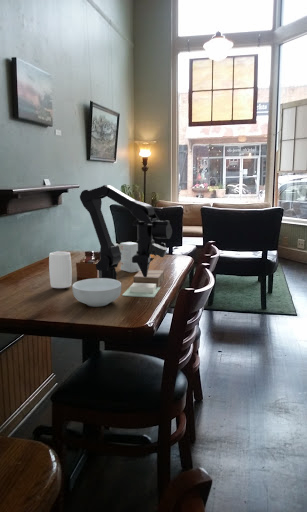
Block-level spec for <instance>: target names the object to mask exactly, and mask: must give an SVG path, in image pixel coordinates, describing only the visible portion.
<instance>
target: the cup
mask: <svg viewBox="0 0 307 512" xmlns="http://www.w3.org/2000/svg"><path fill="white" fill-rule="evenodd" d="M48 257H49V258H48V268H49V270H48V271H49V272H48V273H49V282H50V287H51V288H54V289H65V288H69V287H72V280H73V279H72V278H73V277H72V276H73V275H72V274H73V273H72V271H73V270H72V257H71V252H69V251H62V250H61V251H60V250H59V251H52V252H49V254H48Z"/></svg>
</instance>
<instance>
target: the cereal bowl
mask: <svg viewBox="0 0 307 512" xmlns="http://www.w3.org/2000/svg"><path fill="white" fill-rule="evenodd" d="M71 287H72V288H71V290H72V294H73V297H74V298H75V299H76V300H77V301H78V302H80V303H83V304H84V305H85V304H86V305H87V306H88V307H93V308H94V307H104V306H105V307H106V306H107V305H109V304H110V303H113V302H115V301H116V300H117V299H118V298H119V297H120V296H121V294H122V282H121V281H120V280H118V279H117V280H114V279H108V278H99V277H95V278H86V279H82V280H78V281H76V282H73V284H71Z"/></svg>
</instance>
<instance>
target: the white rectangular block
mask: <svg viewBox="0 0 307 512" xmlns="http://www.w3.org/2000/svg"><path fill="white" fill-rule="evenodd" d="M129 287H130V292H148V293H154V291H155V290H156V284H150V283H134V282H133V283H132V284H131V285H130V286H129Z"/></svg>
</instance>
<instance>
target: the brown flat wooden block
mask: <svg viewBox="0 0 307 512" xmlns="http://www.w3.org/2000/svg"><path fill="white" fill-rule="evenodd" d="M164 280H165V270H164V269H161V270H160V269H148V273H147V277H144V276H143V274H142V272H141V270H140V271H137V273H136V274H135V275H133V283H150V284H156V287H161V285H162V284H163V282H164Z"/></svg>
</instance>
